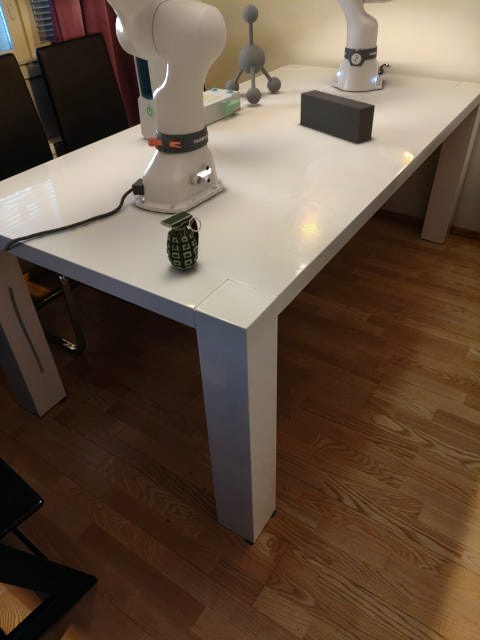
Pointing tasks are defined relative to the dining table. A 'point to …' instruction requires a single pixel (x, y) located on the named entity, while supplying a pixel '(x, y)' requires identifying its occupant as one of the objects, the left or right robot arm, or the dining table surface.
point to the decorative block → (220, 104)
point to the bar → (337, 116)
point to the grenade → (182, 240)
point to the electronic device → (149, 92)
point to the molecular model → (252, 62)
